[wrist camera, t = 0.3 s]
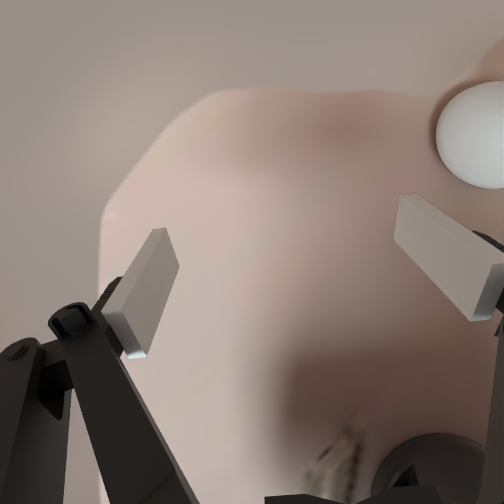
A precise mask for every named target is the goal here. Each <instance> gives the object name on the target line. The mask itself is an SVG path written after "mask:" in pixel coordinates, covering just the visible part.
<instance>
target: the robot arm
mask: <svg viewBox="0 0 504 504" xmlns="http://www.w3.org/2000/svg"><path fill="white" fill-rule="evenodd" d="M393 239H394V240H395V241H396V243H397V244H398V245H399V246H400V247H401V248H402V249H403V250H404V251H405V252H406V253H407V254H408V255H409V257H410V258H411V259H412V260H413V261H414V262H415V263H416V264H417V265H418V266H419V267H420V268H421V269H422V270H423V272H424V273H425V274H426V275H427V276H428V277H429V278H430V279H431V280H432V281H433V282H434V283H435V284H436V285H437V287H438V288H439V289H440V290H441V291H442V292H443V293H444V294H445V295H446V296H447V297H448V298H449V299H450V301H451V302H452V303H453V304H454V305H455V306H456V307H457V308H458V309H459V310H460V311H461V312H462V313H463V314H464V316H465V317H466V318H467V319H468V320H469V321H470V322H472V321H481V320H490V319H491V318H492V315H493V313H494V311H495V309H496V308H497V309H498V310H499V311H500V312H502V313H503V314H504V246H503V245H502V244H500V243H497V241H495V240H494V239H492V238H491V237H489V236H488V235H485V234H482V233H479V232H477V231H470V230H469V229H467V228H466V227H464V226H463V225H461V224H460V223H458V222H457V221H455V220H453V219H452V218H450V217H449V216H447V215H446V214H444V213H443V212H441V211H440V210H438V209H437V208H435V207H434V206H432V205H431V204H429V203H428V202H426V201H425V200H423V199H422V198H420V197H419V196H417V195H416V194H414V193H413V194H406V195H400V198H399V204H398V211H397V218H396V224H395V231H394V238H393ZM178 269H179V264H178V261H177V258H176V255H175V252H174V249H173V246H172V243H171V241H170V238H169V235H168V232H167V229H166V228H160V229H153V230H152V232H151V234H150V235H149V237H148V238H147V240H146V241H145V243H144V245H143V246H142V248H141V249H140V251H139V252H138V254H137V256H136V257H135V259H134V260H133V262H132V263H131V265H130V266H129V268H128V270H127V271H126V273H125V274H124V276H122V277H117V278H116V279H115V280H113V281H112V282H111V283H110V284H109V285H108V286H107V288H106V289H105V291H104V293H103V294H102V295H101V297H100V299H99V300H98V301H97V303H96V304H95V305H94V307H93V309H92V310H91V311H90V309H89V308H88V306H87V305H86V304H85V303H81V302H77V303H72V304H70V305H67V306H65V307H63V308H61V309H60V310H58V311H57V312H55V313H54V314H53V315H52V316H51V318H50V319H49V320H48V326H49V327H50V329H51V330H52V331H53V333H54V334H55V335H56V337H57V338H58V339H57V340H54V341H51V342H48V343H45V344H42V345H41V344H40V343H39V341H38V340H37V339H35V338H25V339H21V340H19V341H17V342H15V343H13V344H11V345H10V346H8V347H7V348H6V349H5V350H3V352H1V353H0V504H63V496H64V484H65V470H66V458H67V443H68V431H69V419H70V418H69V417H70V406H71V393H72V389H73V388H74V389H75V392H76V395H77V399H78V401H79V405H80V408H81V411H82V415H83V418H84V421H85V424H86V428H87V431H88V434H89V437H90V440H91V444H92V447H93V450H94V453H95V457H96V460H97V463H98V466H99V470H100V473H101V476H102V479H103V482H104V486H105V489H106V492H107V495H108V499H109V502H110V504H200V503H199V502H198V500H197V498H196V496H195V494H194V492H193V491H192V489H191V487H190V485H189V483H188V481H187V480H186V478H185V476H184V474H183V472H182V470H181V469H180V467H179V465H178V463H177V461H176V459H175V458H174V456H173V454H172V452H171V450H170V448H169V447H168V445H167V443H166V441H165V439H164V437H163V436H162V434H161V432H160V430H159V428H158V427H157V425H156V423H155V421H154V419H153V417H152V416H151V414H150V412H149V410H148V408H147V406H146V405H145V403H144V401H143V399H142V397H141V395H140V394H139V392H138V390H137V388H136V386H135V384H134V383H133V381H132V379H131V377H130V375H129V373H128V372H127V370H126V368H125V366H124V364H123V363H122V361H121V359H120V356H121V354H122V352H123V350H124V351H125V353H126V355H127V356H128V358H129V359H131V358H140V357H147V354H148V351H149V349H150V346H151V343H152V340H153V338H154V335H155V332H156V329H157V327H158V324H159V321H160V319H161V316H162V313H163V310H164V308H165V305H166V302H167V299H168V297H169V294H170V291H171V288H172V286H173V283H174V280H175V278H176V275H177V272H178ZM494 336H497V337H498V336H499V340H498V348H497V357H496V365H495V374H494V382H493V391H492V399H491V408H490V416H489V425H488V433H487V442H486V448H484V447H483V446H481V445H480V444H478V443H476V442H474V441H472V440H469V439H466V438H463V437H460V436H456V435H450V434H429V435H424V436H420V437H416V438H414V439H411V440H409V441H407V442H405V443H403V444H402V445H400V446H399V447H397V448H396V449H395V450H394V451H393V452H392V453H391V454H390V455H389V456H388V457H387V458H386V459H385V461H384V462H383V463H382V465H381V467H380V468H379V470H378V472H377V475H376V477H375V480H374V483H373V488H372V494H371V497H370V498H367V499H365V500H363V501H361V502H359V503H356V504H504V316H503V318H502V320H501V322H500V324H499V326H498V328H497V331H496V333H495V335H494ZM264 499H265V504H342V503H339V502H335V501H331V500H327V499H323V498H319V497H315V496H311V495H307V494H297V495H283V496H270V497H264Z"/></svg>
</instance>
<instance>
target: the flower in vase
mask: <svg viewBox="0 0 504 504" xmlns="http://www.w3.org/2000/svg"><path fill="white" fill-rule="evenodd" d="M436 143H437V149H438V152H439V155H440V157H441V159H442V161H443V163H444V164H445V166H446V167H447V168H448V169H449V170H450V171H451V172H452V173H453V174H454V175H455V176H457V177H458V178H459V179H461V180H463V181H465V182H467V183H469V184H471V185H474V186H477V187H481V188H488V189H500V188H504V81H492V82H486V83H482V84H479V85H476V86H474V87H471V88H468V89H466V90H464V91H463V92H461V93H459V94H458V95H457V96H455V97H454V98H453V99H452V100H451V101H450V102H449V103H448V104H447V105H446V107H445V108H444V110H443V111H442V113H441V115H440V118H439V120H438V124H437V129H436Z"/></svg>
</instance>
